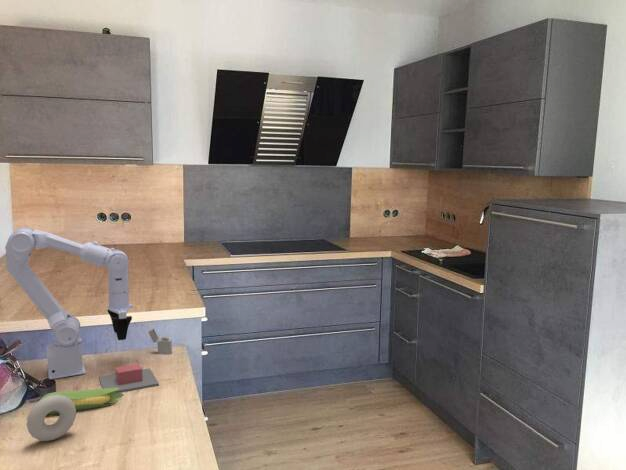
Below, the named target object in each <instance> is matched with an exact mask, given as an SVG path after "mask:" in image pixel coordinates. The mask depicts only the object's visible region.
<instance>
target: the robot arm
mask: <svg viewBox="0 0 626 470" xmlns="http://www.w3.org/2000/svg"><path fill="white" fill-rule="evenodd" d="M35 247H36V251H37V250H38V251H39V250H42V249H46V248H52V249H55V250H57V251H58V250H59V251H62V252H65V253H69V254H74V255H76V256H78V257H79V259H80V260H81V261H82V262H84V263H85V262H86V263H88V264H91V265H95V266H99V267H102V268H107V269H108V276H107V288H108V306H107V307H108V309H107V311H106V312H107V313H108V315H109V317H110V319H111V324H112V328H113V329H112V330H113V332H114V333H115V334H116V338H117V340H118V341H125V340H126V339H127V336H128V330H129V326H130V323H131V321H132V320H133V316H132V315H127V312H128V311H129V310H130V309H131V308H133V309H134V305H135V304H133V303H130V281H129V280H130V279H129V277H130V276H129V275H128V274H129V269H128V268H129V266H130V262H129V258H128V255H127V254H126V253H125V252H124V251H122V250H121V249H115V248H114V247H111V248H109V247H106V246H102V245H100V244H99V242H97V241H95V240H93V242H91V241H88V242H86V243H83V244H82V243H79V242H76V241H74V240H70V239H67V238H64V237H63V236H59V235H56V234H54V233H50V232H47V231H44V230H41V229H33V228H31V227H27V226H26V227H25V226H24V227H19V228H18V229H16V230H15V231H14V232H12V233H11V234H10V236H9V237H8V239H7V241H6V244H5V247H4V248H5V252H6V253H5V256H6V258H5V263H6V264H5V265H6V267H5V268H6V269H7V272H8V273H9V274H10V275H11V276H12V278H13V279H14V280H15V282H16V283H17V284H18V286H20V288H21V289H22V290H23V291H24V293H25V294H26V296H28V298H29V299H30V301H32V303H33V304H34V305H35V307H36V308H37V309H38V310H39V312H40V313H41V314H42V315H43V317H44V318H45V319H46V320H47V322H48V325H49V328H50V330H52V332H53V335H54V343H51V344H47V345H46V355H47V356H46V359H47V360H46V361H47V363H46V371H47V374H48V379H49V378H50V379H49V380H56V379H60V378H66V377H74V376H79V375H84V374H85V375H86V369H85V365H84V362H83V359H84V358H83V339H82V337H80V330H81V322H80V320H79V319H78V318H76V317H75V316H73V315H71V314H70V313H69V312H68V310H67V309H65V308H63V306H61V305H60V303H59V302H58V301H57V299H56V298H55V297H54V295H53V294H52V293H51V292H50V290H49V289H48V288H47V286H46V285H45V284H44V283H43V281H42V280H41V279H40V277H39V276H38V275H37V274H36V272H35V271H34V270H33V268H32V267H31V266H30V265H29V262H30V258H31V254H32V252H33V250H34V249H35Z"/></svg>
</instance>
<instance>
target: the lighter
mask: <svg viewBox="0 0 626 470" xmlns="http://www.w3.org/2000/svg"><path fill="white" fill-rule="evenodd" d="M148 334H149V336H150V338H151V340H152V342H153V343H156V342H157V355H171V354H172V352H173V351H172V349H173V346H172V345H173V344H172V342H173V341H172V339H170V338H169V337H167V336H162V337H161V339H160V338H159V336H158V333H157V332H156V331H155V328H154V327H153V328H151V329H149V330H148Z"/></svg>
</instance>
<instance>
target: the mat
mask: <svg viewBox="0 0 626 470" xmlns="http://www.w3.org/2000/svg"><path fill="white" fill-rule="evenodd" d="M98 379H99V382H100V385H101V389H105V388H119V389H117V390H116V391H113V392H116V393H125V392H131V391H136V390H140V389H146V388H147V387H148V388H152V386H153V387H158V386H160V382H159V381H158V379H157V377H156V375H154V373H153V371H152V370H151V368H149V367H148V368H145V369H143V368H142V381H138V382H133V383H127V384H122V385H118V384H117V381H116V375H115V373H114V374H107V375H102V376H101V375H99V377H98Z"/></svg>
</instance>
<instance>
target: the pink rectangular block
mask: <svg viewBox="0 0 626 470" xmlns="http://www.w3.org/2000/svg"><path fill="white" fill-rule="evenodd" d="M114 369H115V373H114V374H115V375H116V381H117V384H118V385H122V384H127V383H133V382H138V381H142V369H143V368H142V365H141V364H140V363H134V364H128V365H127V364H125V365H120V366H115V367H114Z"/></svg>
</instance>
